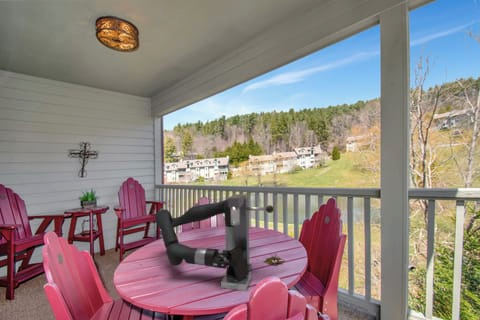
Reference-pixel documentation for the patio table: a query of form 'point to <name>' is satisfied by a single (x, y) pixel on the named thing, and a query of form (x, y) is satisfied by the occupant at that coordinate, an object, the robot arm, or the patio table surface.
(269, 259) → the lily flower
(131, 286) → the patio table surface
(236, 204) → the arbor press
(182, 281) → the patio table surface
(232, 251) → the phone stand
